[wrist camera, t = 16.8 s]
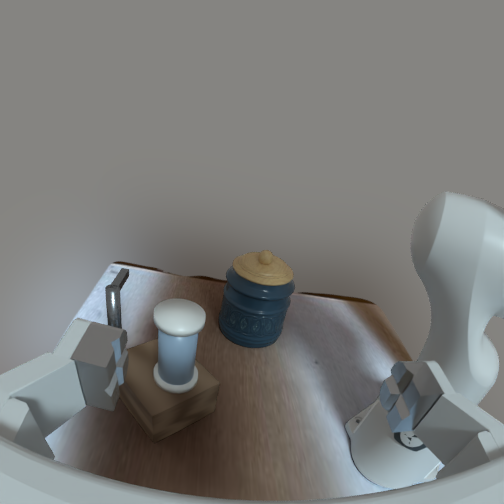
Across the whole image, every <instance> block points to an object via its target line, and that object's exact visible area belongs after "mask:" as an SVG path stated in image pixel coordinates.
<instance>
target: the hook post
mask: <svg viewBox="0 0 504 504" xmlns="http://www.w3.org/2000/svg"><path fill="white" fill-rule="evenodd" d="M128 277H129V269H124V268H122V269H121V270H120V272H119V273H118V275H117V276H116V278H115V279H114V281H113V282H112V284H111V285H108V286H106V288H105V289H106V305H107V318H108V326H112V327H116V328H120V329H122V325H121V304H120V290H121V288H122V287H123V285H124V283H125V282H126V280H127V278H128Z"/></svg>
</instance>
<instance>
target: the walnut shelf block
mask: <svg viewBox="0 0 504 504" xmlns="http://www.w3.org/2000/svg"><path fill="white" fill-rule="evenodd" d="M127 351H128V357H129V361H128V370H127V375H126V378H125V381H124V383H123V384H121V385H119V391H120V395H119V397H120V398H121V400H122V401H123V403H124V404H125V406H126V407H127V408H128V410H129V411H130V413H131V414H132V415H133V417H134V418H135V419H136V421H137V422H138V423H139V425H140V426H141V427H142V429H143V430H144V431H145V432H146V434H147V435H148V436H149V438H150V439H151V440H152V441H153V443H156V442H158V441H160V440H162V439H164V438H166V437H168V436H170V435H172V434H174V433H176V432H177V431H179V430H181V429H183V428H185V427H187V426H189V425H191V424H192V423H194V422H196V421H198V420H200V419H202V418H203V417H205V416H207V415H209V414H210V413H212V412H214V411H215V406H216V401H217V396H218V390H219V385H220V382H219V381H218V380H217V379H216V378H215V377H214V376H213V375H212V374H211V373H210V372H209V371H208V370H206V369H205V368H204V367H203V366H202V365H201V364H200V363H199V362H198V361H197V360H196V359H195V366H196V368H197V370H198V380H197V384H196V385H195V387H194V388H193V389H191V390H190V391H188V392H185V393H178V394H177V393H170V392H167V391H164V390H163V389H161V388H160V387H159V386H158V385H157V384H156V382H155V380H154V367H155V365H156V363H157V362H158V338H157V339H154V340H152V341H149V342H146V343H143V344H141V345H138V346H135V347H132V348H129V349H127Z"/></svg>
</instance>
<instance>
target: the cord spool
mask: <svg viewBox="0 0 504 504" xmlns="http://www.w3.org/2000/svg"><path fill="white" fill-rule="evenodd" d="M205 317H206V315H205V312H204V310H203V309H202V307H201V306H199V305H198V304H196V303H194V302H192V301H189V300H186V299H178V298H177V299H168V300H164V301H162V302H160V303H159V304H158V305H157V306H156V307H155V309H154V323H155V325H156V327H157V328H158V362H157V363H156V365H155V367H154V380H155V382H156V384H157V385H158V386H159V387H160V388H161V389H163V390H164V391H167V392H170V393H177V394H178V393H185V392H188V391H190V390H191V389H193V388H194V387H195V385H196V384H197V380H198V370H197V368H196V366H195V357H196V348H197V340H198V333H199V332H200V331H201V330H202V329H203V327H204V325H205Z"/></svg>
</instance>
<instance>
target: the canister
mask: <svg viewBox="0 0 504 504" xmlns="http://www.w3.org/2000/svg"><path fill="white" fill-rule="evenodd" d="M226 278H227V281H228V282H227V283H226V285H225V286H224V295H223V301H222V307H221V311H220V313H219V327H220V330H221V332H222V333H223V335H224V336H225V337H226V338H228V339H229V340H230V341H232V342H234V343H236V344H238V345H241V346H245V347H250V348H261V347H266V346H269V345H271V344H273V343H274V342H275V341H276V340H277V339H278V337H279V336H280V334H281V332H282V329H283V322H284V319H285V316H286V312H287V309H288V307H289V305H290V297H289V296H290V295H291V294H292V293H293V292H294V289H295V285H294V282H293V280H292V279H293V271H292V269H291V268H290V267H289V266H288V265H287V264H286V263H285V262H284V261H283V260H281V259H280V258H278V257H276V256H274V255H273V254H272V252H270V251H269V250H263V251H262V252H251V253H247V254H245V255H241V256H239V257H237V258H235V260H234V261H233V266H231V267H230V268H229V269H228V271H227V273H226Z"/></svg>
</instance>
